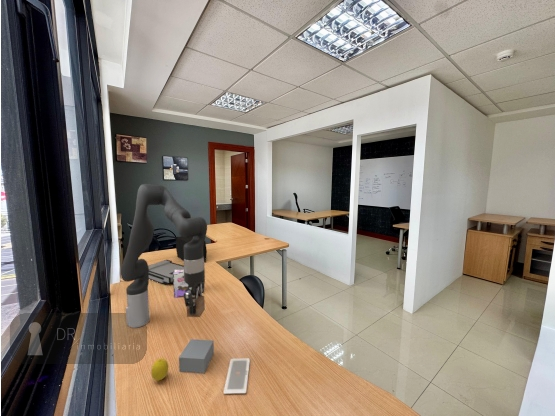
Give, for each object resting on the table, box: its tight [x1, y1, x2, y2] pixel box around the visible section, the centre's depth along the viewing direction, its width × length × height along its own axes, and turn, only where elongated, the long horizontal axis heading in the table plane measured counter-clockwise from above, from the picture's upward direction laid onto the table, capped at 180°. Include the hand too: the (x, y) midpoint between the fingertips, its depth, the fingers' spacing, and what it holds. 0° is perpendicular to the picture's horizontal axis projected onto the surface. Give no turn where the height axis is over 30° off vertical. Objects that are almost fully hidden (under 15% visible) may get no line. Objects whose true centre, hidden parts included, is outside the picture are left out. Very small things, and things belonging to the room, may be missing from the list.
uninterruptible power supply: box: [175, 236, 208, 264], centre depth 206 cm, size 16×34×20 cm, turn 44°
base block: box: [178, 338, 215, 374], centre depth 89 cm, size 10×10×6 cm
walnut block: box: [186, 295, 206, 318], centre depth 87 cm, size 5×5×6 cm
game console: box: [148, 259, 184, 286], centre depth 168 cm, size 21×32×8 cm, turn 62°
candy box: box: [172, 269, 188, 299], centre depth 142 cm, size 14×6×16 cm, turn 105°
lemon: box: [150, 358, 169, 381], centre depth 81 cm, size 6×6×8 cm
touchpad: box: [222, 358, 251, 395], centre depth 83 cm, size 8×15×2 cm, turn 2°
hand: (195, 309), depth 87 cm, fingers closed on walnut block, 5 cm apart
